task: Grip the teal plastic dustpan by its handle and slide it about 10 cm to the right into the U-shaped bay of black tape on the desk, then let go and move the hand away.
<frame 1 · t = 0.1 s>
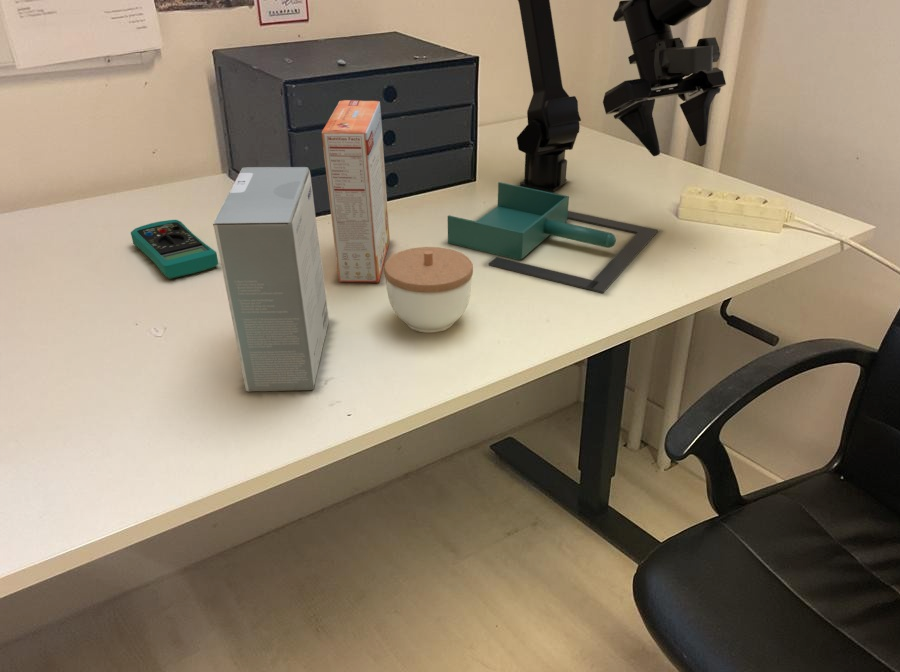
hand: (680, 150, 114), 15 cm above the table, tool tilted 30°, fingers open, 9 cm apart
digital multimeter: (176, 258, 115), on the table
dustpan: (508, 231, 126), on the table
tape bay: (567, 245, 122), on the table
trinket box: (430, 322, 102), on the table
cracker box: (364, 263, 115), on the table
hard drive box: (289, 356, 94), on the table
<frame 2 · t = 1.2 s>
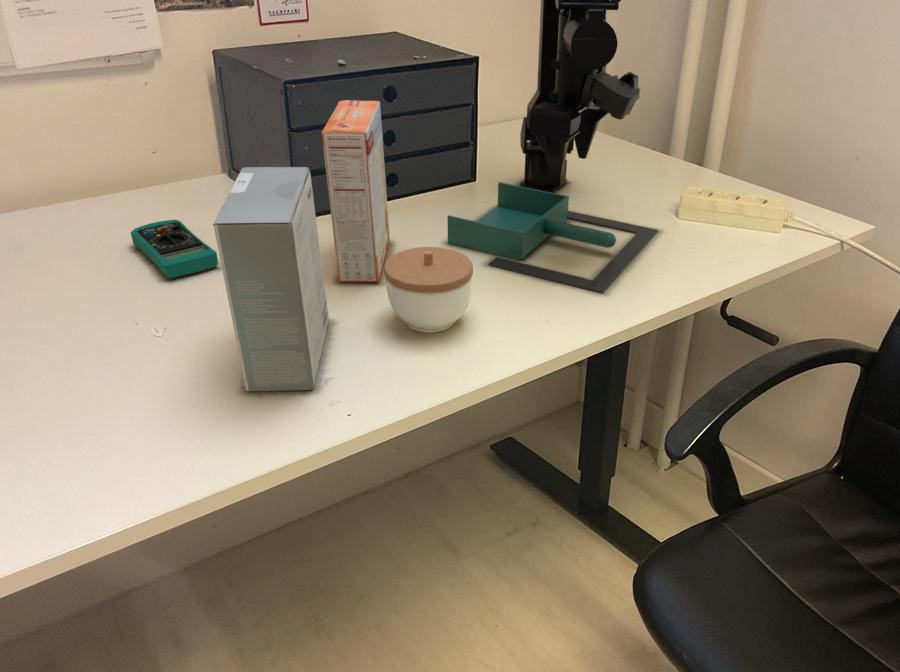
hand: (570, 167, 116), 12 cm above the table, tool pointing down, fingers open, 9 cm apart
nothing on the table moved.
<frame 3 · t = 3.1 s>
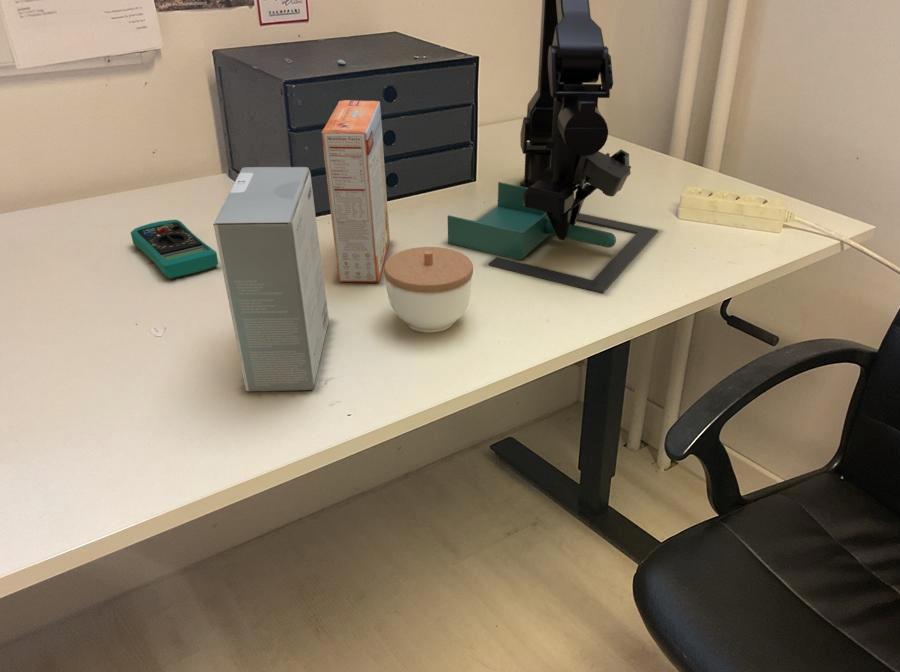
hand: (564, 236, 122), 1 cm above the table, tool pointing down, fingers closed on dustpan, 2 cm apart
dustpan: (508, 231, 126), on the table, touching gripper
everything else where it was.
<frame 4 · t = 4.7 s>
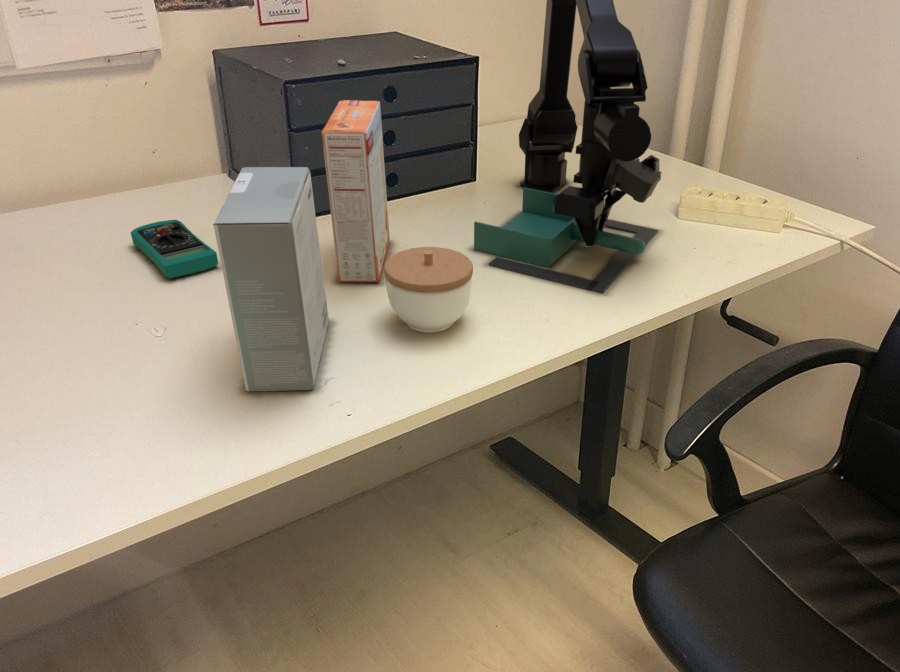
hand: (592, 242, 120), 1 cm above the table, tool pointing down, fingers closed on dustpan, 2 cm apart
dustpan: (534, 237, 124), on the table, touching gripper
everything else where it was.
when the fingers open (1 cm above the table, at t = 6.5 s): dustpan stays where it is, on the table.
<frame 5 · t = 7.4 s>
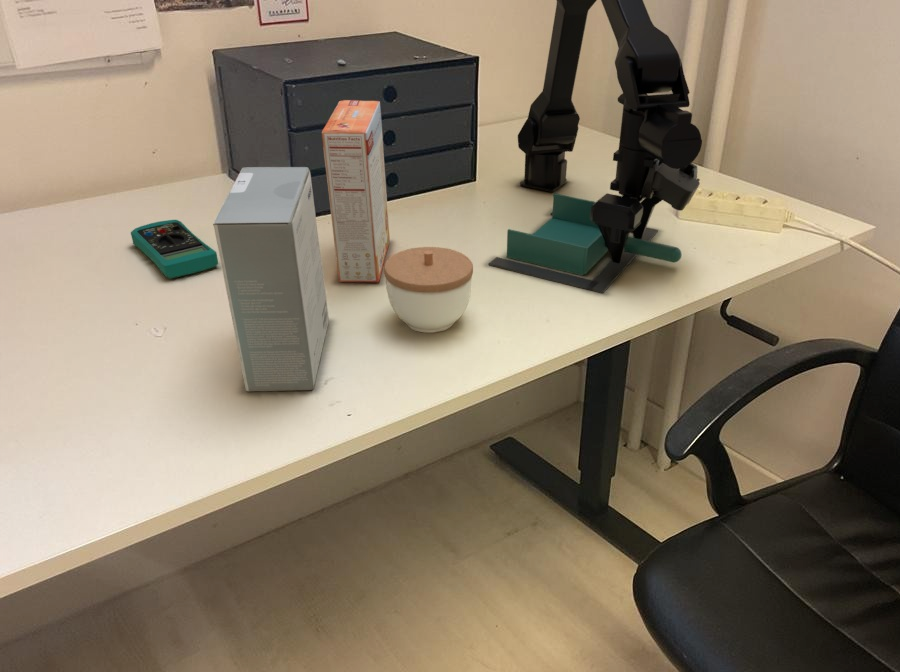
hand: (627, 250, 118), 1 cm above the table, tool pointing down, fingers open, 9 cm apart
dustpan: (566, 245, 122), on the table
everything else where it was.
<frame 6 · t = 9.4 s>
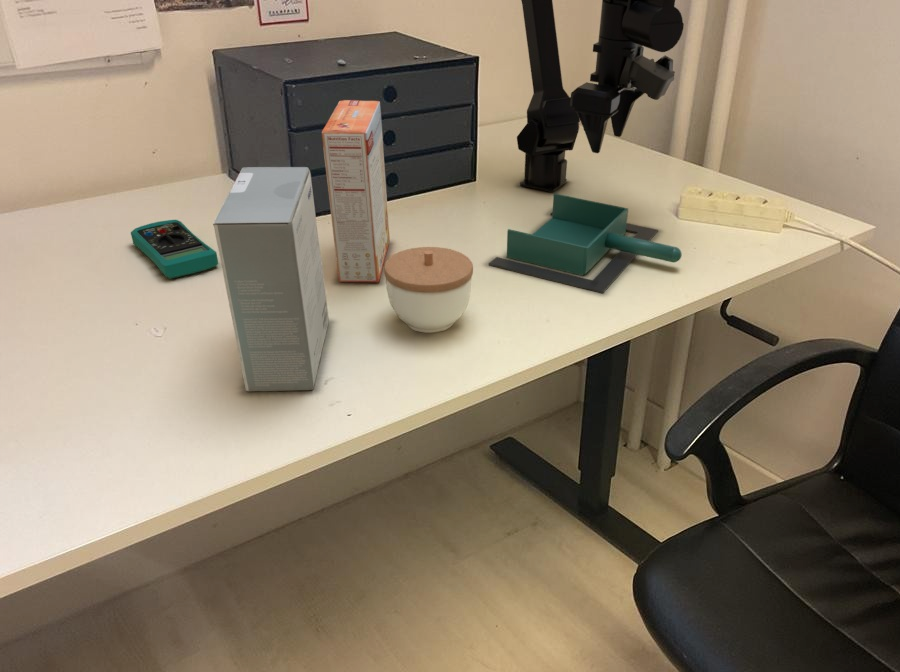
hand: (607, 144, 124), 12 cm above the table, tool pointing down, fingers open, 9 cm apart
nothing on the table moved.
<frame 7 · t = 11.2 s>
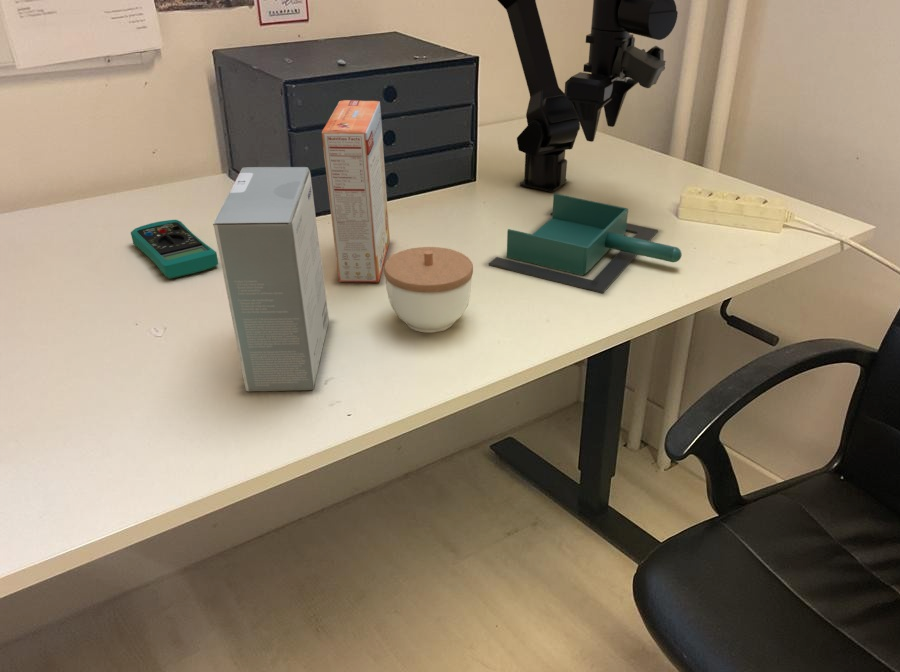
hand: (600, 133, 128), 13 cm above the table, tool pointing down, fingers open, 9 cm apart
nothing on the table moved.
at the end: dustpan 0.1 cm off-centre on the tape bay, point 0.0 cm above the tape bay's base; dustpan tilted 0°; the gripper is holding nothing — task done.
